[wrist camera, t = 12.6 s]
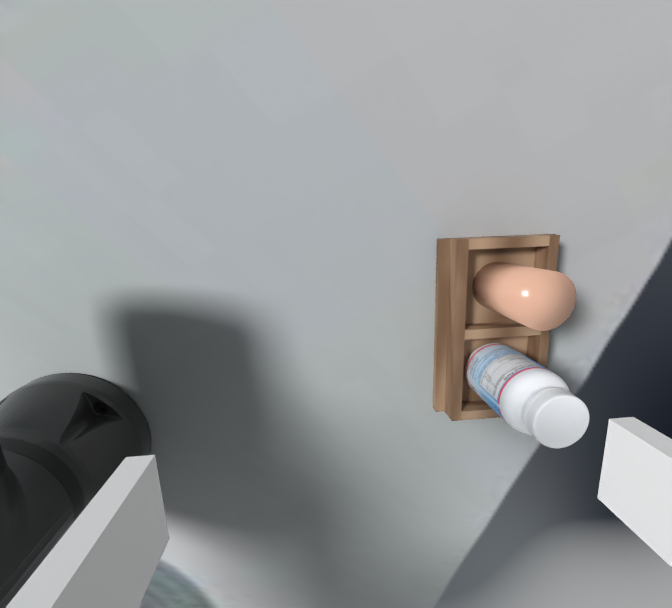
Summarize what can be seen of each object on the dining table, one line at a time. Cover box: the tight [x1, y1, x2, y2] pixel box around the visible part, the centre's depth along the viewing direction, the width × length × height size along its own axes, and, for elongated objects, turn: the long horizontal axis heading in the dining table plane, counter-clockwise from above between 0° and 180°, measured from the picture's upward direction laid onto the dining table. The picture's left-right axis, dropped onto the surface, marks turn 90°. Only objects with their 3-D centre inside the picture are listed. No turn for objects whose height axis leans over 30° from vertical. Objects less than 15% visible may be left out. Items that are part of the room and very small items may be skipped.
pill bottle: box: [465, 343, 589, 448], centre depth 33 cm, size 6×6×11 cm
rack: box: [433, 234, 560, 421], centre depth 37 cm, size 12×19×3 cm, turn 2°
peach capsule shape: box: [472, 262, 576, 331], centre depth 32 cm, size 5×5×8 cm
